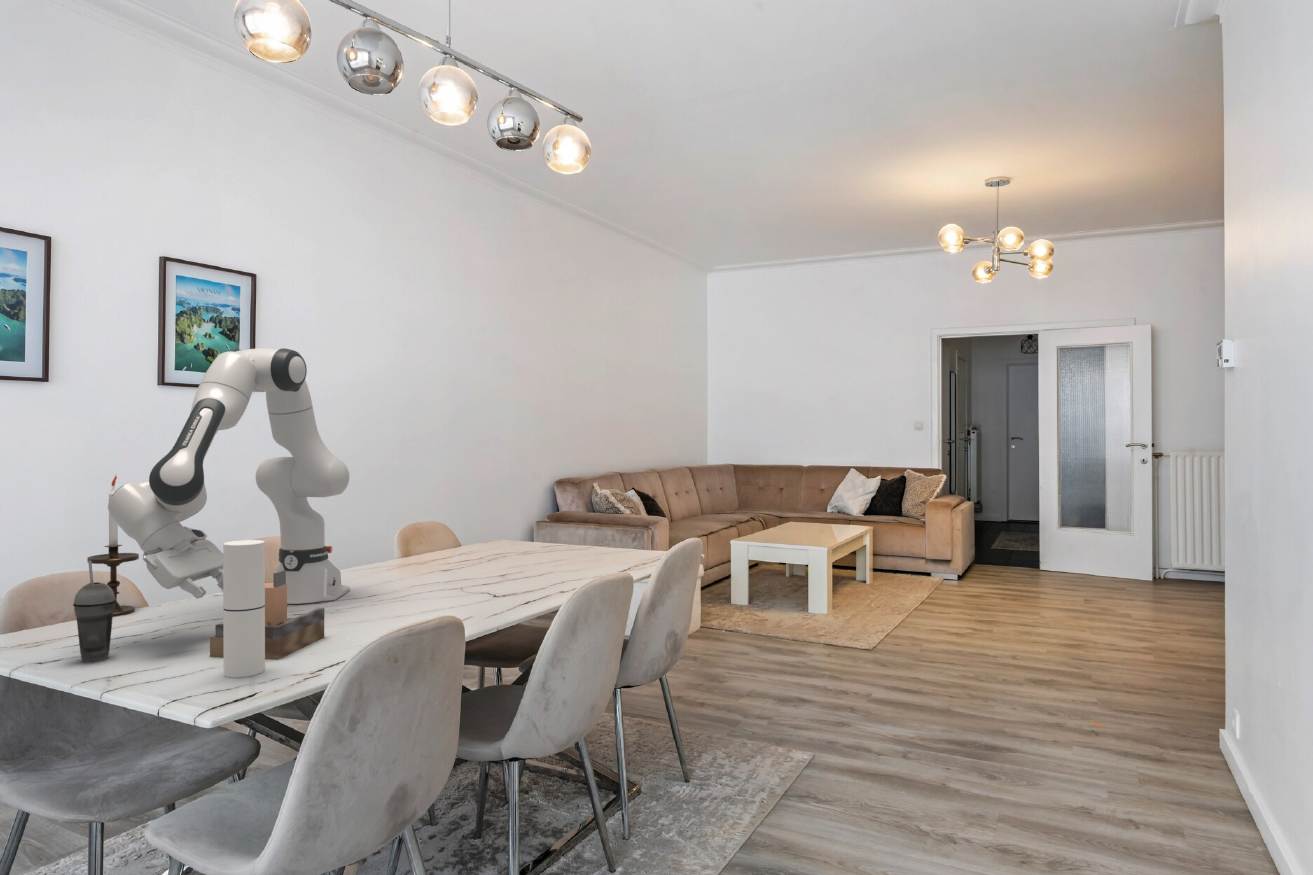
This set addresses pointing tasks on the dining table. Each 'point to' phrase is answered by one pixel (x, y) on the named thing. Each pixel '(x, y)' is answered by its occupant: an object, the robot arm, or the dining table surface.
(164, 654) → the dining table surface
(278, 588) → the tan block
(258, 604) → the cylindrical container
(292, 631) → the dock
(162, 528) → the robot arm
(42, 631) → the dining table surface
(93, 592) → the beverage cup
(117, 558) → the candlestick
